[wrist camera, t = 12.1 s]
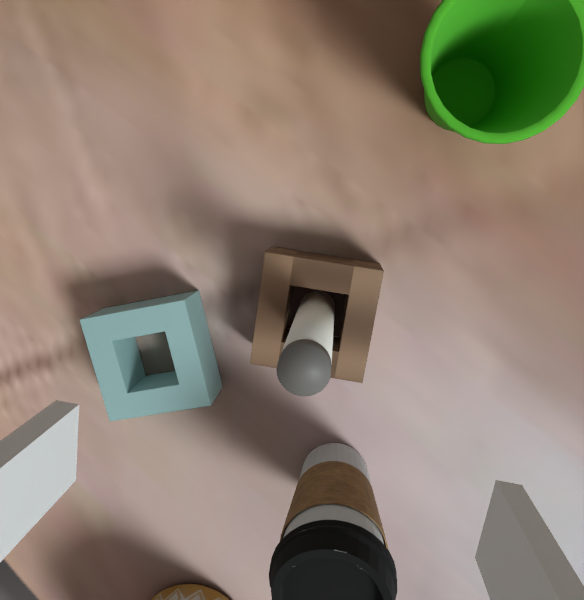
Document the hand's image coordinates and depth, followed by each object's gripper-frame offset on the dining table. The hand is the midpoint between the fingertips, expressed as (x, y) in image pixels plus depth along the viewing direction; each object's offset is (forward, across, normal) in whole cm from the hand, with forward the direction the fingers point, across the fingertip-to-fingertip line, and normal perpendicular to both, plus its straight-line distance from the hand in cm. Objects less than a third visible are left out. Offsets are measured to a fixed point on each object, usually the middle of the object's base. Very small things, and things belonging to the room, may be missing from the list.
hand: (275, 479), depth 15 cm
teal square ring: (+27, -13, -7) cm, 30 cm away
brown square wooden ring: (+27, 0, -1) cm, 27 cm away
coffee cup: (+27, +4, -16) cm, 31 cm away
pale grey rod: (+27, 0, -1) cm, 27 cm away
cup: (+27, +8, +17) cm, 33 cm away
